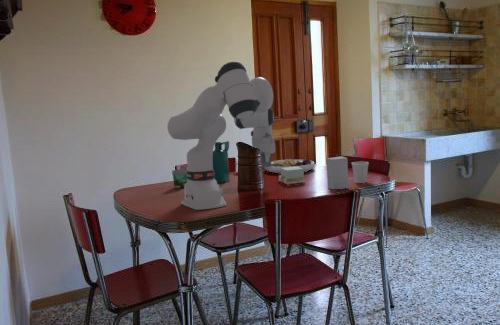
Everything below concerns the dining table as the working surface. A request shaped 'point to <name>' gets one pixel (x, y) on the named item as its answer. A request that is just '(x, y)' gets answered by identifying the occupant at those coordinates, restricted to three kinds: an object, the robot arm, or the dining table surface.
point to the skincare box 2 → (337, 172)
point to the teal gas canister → (221, 162)
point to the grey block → (265, 164)
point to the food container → (180, 177)
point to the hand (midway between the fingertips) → (264, 161)
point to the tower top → (292, 172)
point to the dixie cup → (360, 171)
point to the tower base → (291, 179)
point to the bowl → (290, 165)
